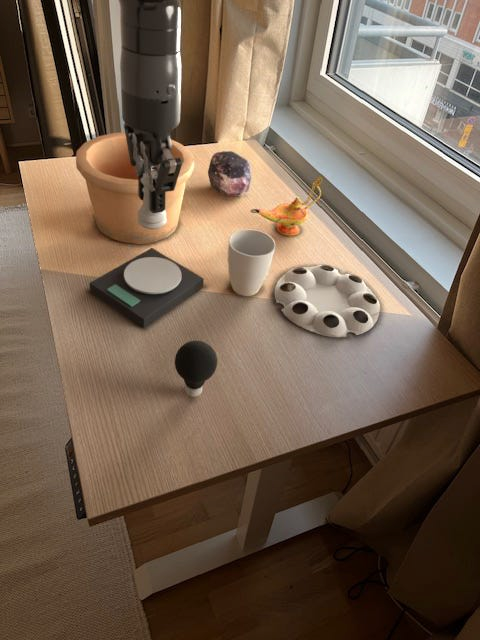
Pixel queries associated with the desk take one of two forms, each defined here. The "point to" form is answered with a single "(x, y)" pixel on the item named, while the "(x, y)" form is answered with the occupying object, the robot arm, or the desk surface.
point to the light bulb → (195, 365)
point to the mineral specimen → (229, 173)
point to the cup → (249, 260)
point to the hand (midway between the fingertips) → (151, 204)
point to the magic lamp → (289, 213)
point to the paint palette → (327, 300)
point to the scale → (146, 286)
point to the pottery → (126, 188)
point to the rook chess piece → (144, 214)
